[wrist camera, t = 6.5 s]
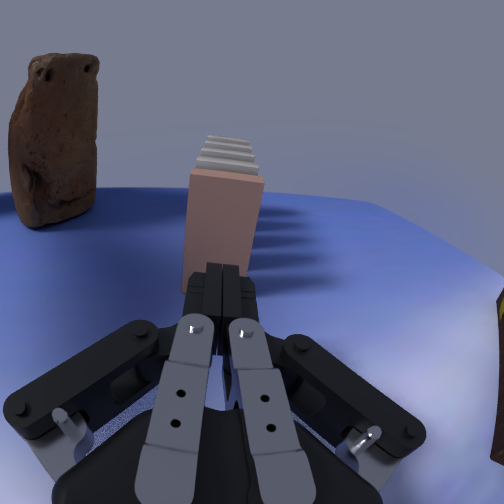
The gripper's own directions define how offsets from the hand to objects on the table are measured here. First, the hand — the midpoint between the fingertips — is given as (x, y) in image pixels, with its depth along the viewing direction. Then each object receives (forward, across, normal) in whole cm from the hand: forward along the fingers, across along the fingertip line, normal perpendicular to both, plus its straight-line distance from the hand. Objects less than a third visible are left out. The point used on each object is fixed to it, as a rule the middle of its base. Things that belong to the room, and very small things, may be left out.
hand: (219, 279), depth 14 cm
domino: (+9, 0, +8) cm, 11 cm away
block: (+20, +21, +8) cm, 30 cm away
